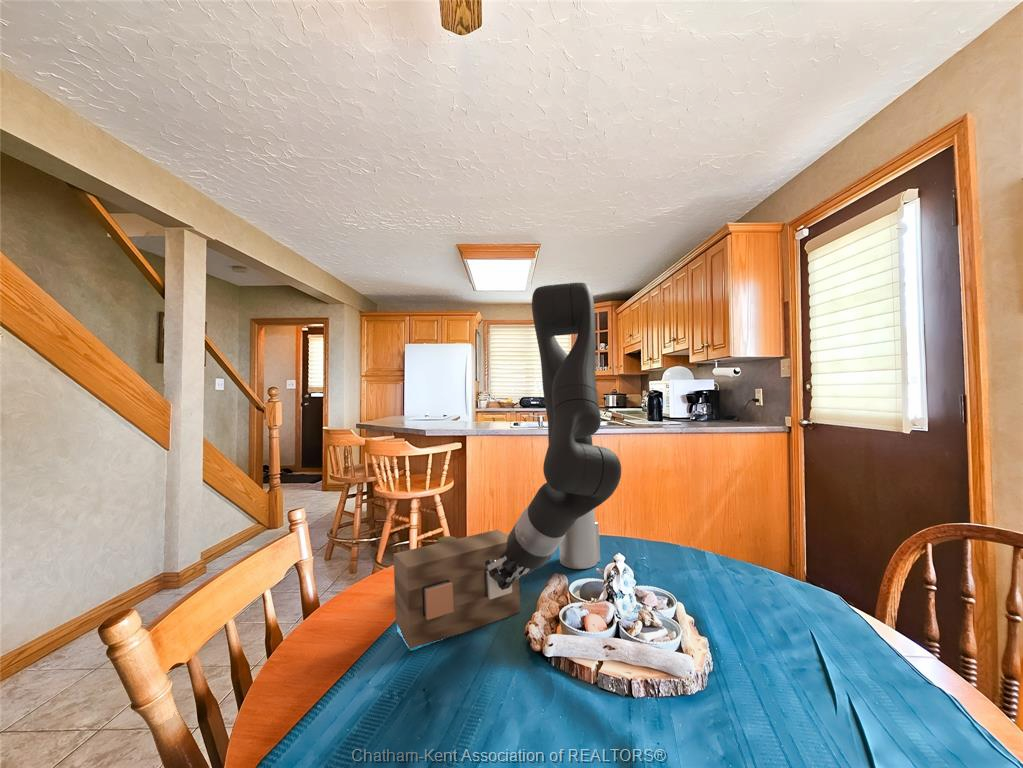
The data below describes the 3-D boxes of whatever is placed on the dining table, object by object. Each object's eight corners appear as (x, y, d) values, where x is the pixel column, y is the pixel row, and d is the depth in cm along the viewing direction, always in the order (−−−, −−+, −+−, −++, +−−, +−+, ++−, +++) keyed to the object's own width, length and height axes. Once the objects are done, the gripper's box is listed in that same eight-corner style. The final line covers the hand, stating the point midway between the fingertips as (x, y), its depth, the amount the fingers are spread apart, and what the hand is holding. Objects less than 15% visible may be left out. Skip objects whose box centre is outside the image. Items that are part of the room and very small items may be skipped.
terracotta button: (435, 593, 81) (434, 567, 81) (453, 611, 74) (452, 583, 74) (410, 600, 78) (409, 574, 79) (427, 620, 71) (426, 591, 71)
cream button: (490, 577, 87) (489, 553, 87) (512, 592, 80) (511, 566, 80) (469, 583, 85) (468, 558, 85) (489, 599, 77) (488, 573, 78)
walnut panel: (499, 596, 89) (497, 529, 90) (520, 612, 82) (517, 539, 83) (396, 630, 78) (393, 553, 78) (410, 652, 71) (407, 567, 71)
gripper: (559, 506, 74) (524, 556, 84) (493, 520, 67) (463, 573, 77) (580, 545, 69) (540, 594, 79) (512, 565, 62) (477, 615, 72)
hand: (502, 584), depth 78 cm, fingers closed
